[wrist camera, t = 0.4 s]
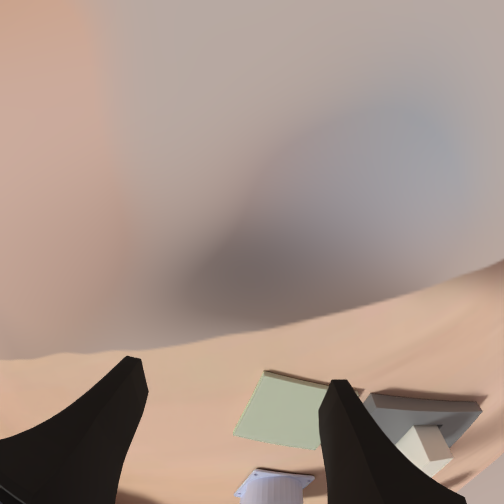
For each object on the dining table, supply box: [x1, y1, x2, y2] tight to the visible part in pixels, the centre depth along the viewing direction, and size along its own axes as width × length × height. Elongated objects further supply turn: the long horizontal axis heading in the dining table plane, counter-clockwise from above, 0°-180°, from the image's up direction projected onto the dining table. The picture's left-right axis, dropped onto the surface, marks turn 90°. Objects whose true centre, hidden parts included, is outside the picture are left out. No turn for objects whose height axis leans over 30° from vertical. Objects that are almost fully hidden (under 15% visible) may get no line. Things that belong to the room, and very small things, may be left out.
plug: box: [395, 425, 454, 477], centre depth 20 cm, size 4×4×7 cm
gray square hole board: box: [363, 393, 482, 448], centre depth 23 cm, size 9×18×2 cm, turn 72°
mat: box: [233, 371, 359, 450], centre depth 23 cm, size 9×9×1 cm
